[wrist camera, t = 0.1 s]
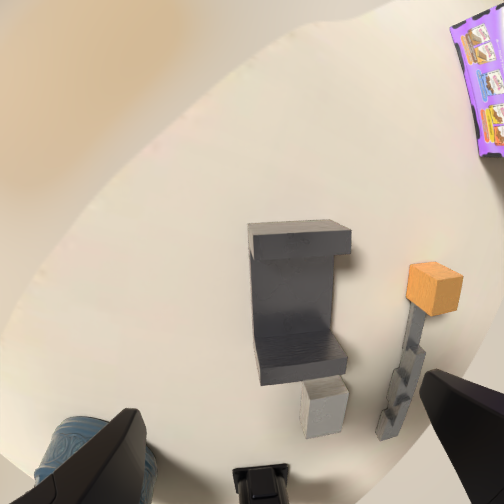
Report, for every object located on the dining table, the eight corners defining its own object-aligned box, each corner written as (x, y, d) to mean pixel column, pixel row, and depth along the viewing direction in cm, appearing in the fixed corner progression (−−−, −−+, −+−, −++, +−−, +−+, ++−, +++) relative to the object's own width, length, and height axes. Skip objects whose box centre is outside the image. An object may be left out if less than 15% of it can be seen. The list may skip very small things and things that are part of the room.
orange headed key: (394, 426, 28) (407, 448, 25) (372, 433, 28) (385, 456, 24) (435, 261, 23) (463, 275, 19) (410, 264, 23) (437, 280, 19)
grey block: (332, 412, 27) (340, 432, 24) (299, 418, 27) (305, 439, 24) (338, 372, 25) (349, 392, 23) (301, 378, 25) (310, 400, 22)
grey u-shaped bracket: (324, 338, 24) (345, 373, 19) (253, 346, 24) (260, 385, 19) (329, 219, 21) (358, 233, 17) (247, 223, 21) (254, 239, 16)
